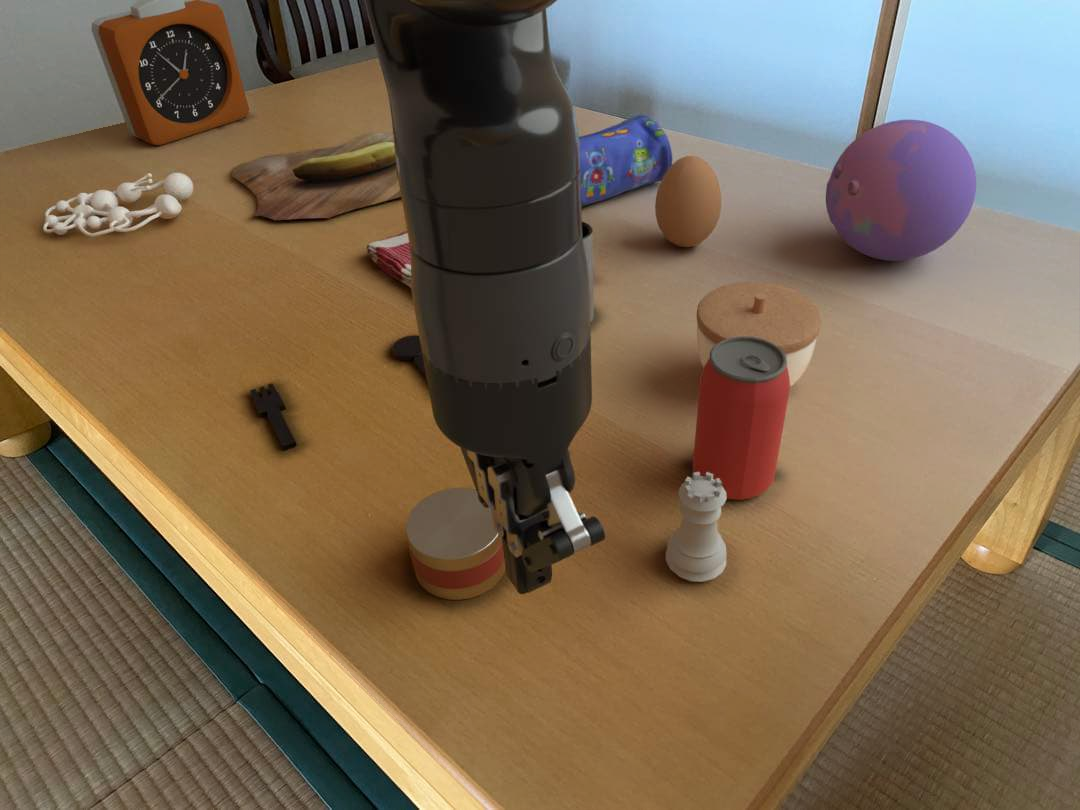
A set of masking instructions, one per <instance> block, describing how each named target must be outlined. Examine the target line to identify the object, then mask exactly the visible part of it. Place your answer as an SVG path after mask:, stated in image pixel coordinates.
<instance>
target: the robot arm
mask: <svg viewBox="0 0 1080 810" xmlns="http://www.w3.org/2000/svg"><path fill="white" fill-rule="evenodd" d="M363 2H364V5H365V10H366V14H367V18H368V22H369V25H370V29H371V32H372V37H373V42H374V46H375V49H376V54H377V57H378V62H379V65H380V68H381V72H382V75H383V79H384V83H385V86H386V87H385V88H386V90H387V91H386V92H387V96H388V101H389V108H390V116H391V117H390V118H391V124H392V125H391V126H392V133H393V136H394V148H395V161H396V169H397V176H398V181H399V187H400V192H401V197H400V198H401V204H402V209H403V210H402V211H403V215H404V221H405V226H406V231H407V233H408V239H409V246H410V254H411V288H412V289H411V288H410V289H411V296H412V303H413V304H412V305H413V309H414V314H415V321H416V325H417V332H418V336H419V338H420V343H421V349H422V355H423V360H424V366H425V371H426V377H427V378H426V377H425V378H426V381H427V387H428V393H429V399H430V404H431V411H432V416H433V419H434V422H435V424H436V426H437V427H438V430H439V431H440V432H441V433H442V434H443V435H444V436H445V437H446V438H447V440H449V441H451V443H453V444H454V445H456V446H458V447H459V448H460V451H461V454H462V456H463V459H464V461H465V464H466V467H467V470H468V471H469V475H470V477H471V480H472V482H473V486H474V489H475V490H476V491H477V493H478V499H479V501H480V503H482V505H483V506H484V507H485V508H488V507H490V508H491V512H492V518H493V523H494V524H493V526H494V529H495V531H496V532H498V534H499V535H500V536H501V537H502V544H503V552H504V560H505V568H506V570H505V575H506V577H507V578H508V579H509V581H510V583H511V584H512V585H513V587H514V588H515V590H516V591H517V593H518V594H519V595H526V594H527V593H528V594H530V593H532V592H534V591H535V590H538V589H540V588H542V587H545V586H546V585H548V584H550V583H551V582H552V580H553V568H552V567H553V566H552V565H554V564H557V563H558V562H559V563H560V562H561V561H563V560H565V559H567V558H570V557H572V556H574V555H575V554H578V553H580V552H582V551H584V550H586V549H588V548H591V547H593V546H595V545H597V544H599V543H601V542H603V541H604V540H605V539H606V533H605V529H604V526H603V524H602V523H601V521H600V520H599V518H597V517H596V516H594V515H592V516H590V517H588V518H587V515H586V513H585V512H584V511H579V512H578V510H577V508H576V505H575V503H574V501H573V499H572V497H571V495H570V494H571V493H572V492H573V490H574V488H575V485H576V473H575V469H574V467H573V464H572V463H573V462H572V459H571V452H570V449H569V447H570V446H571V443H572V442H573V440H574V439H575V437H576V435H577V434H578V432H579V431H580V429H581V428H582V426H583V425H584V423H585V422H586V421H587V418H588V417H589V414H590V412H591V408H592V404H593V403H592V401H593V383H592V340H591V339H592V333H591V329H592V328H591V327H592V325H591V323H590V285H589V273H588V266H587V260H586V254H585V249H584V243H583V233H582V222H583V221H582V218H583V217H582V216H583V215H582V207H581V176H580V162H581V161H580V145H579V137H580V133H579V126H578V122H577V117H576V113H575V109H574V106H573V102H572V99H571V97H570V95H569V92H568V91H567V89H566V87H565V85H564V83H563V81H562V79H561V78H560V75H559V73H558V71H557V69H556V65H555V62H554V60H553V56H552V52H551V47H550V46H551V45H550V36H549V26H548V16H547V9H548V8H549V7H551V6H552V5H553V4H554V3H556V2H558V0H363Z"/></svg>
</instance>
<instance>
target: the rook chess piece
mask: <svg viewBox="0 0 1080 810" xmlns="http://www.w3.org/2000/svg"><path fill="white" fill-rule="evenodd" d="M678 498H679V499H680V501H681V504H680V513H681V515H682V517H681V522H680V524H679V527H677V528H676V530H675V531H674V532H672V534H671V536H670V538H669V539H668V541H667V543H666V545H667V546H666V550H665V561H666V562H665V563H666V564H667V566H668V567H669V569H670V570H671V571H672V572H673V573H674V574H676V575H677V576H678V577H679V578H681V579H683V580H685V581H688V582H693V583H703V582H708V581H712V580H714V579H716V578H717V577H718V576H719V575H721V574H722V573H723V572H724V570H725V568H726V566H727V545H726V543H725V541H724V540H723V537H722V535H721V534H720V532H719V530H718V529H719V528H718V521H719V519H720V517H721V515H722V507H723V506H724V505H725V503H726V501H727V500H728V499H727V496H726V491H725V490H724V488H723V487H722V482H721V480H720V479H719V478H717V479H715V480H714V479H713V474H712V473H709V472H706V477H703V476H700V472H695V473H693V472H692V476H691V477H690V476H686V478H685V480H684V482H683V483H682V484H681V485H680V487H679V489H678Z"/></svg>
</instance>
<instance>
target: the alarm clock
mask: <svg viewBox="0 0 1080 810" xmlns="http://www.w3.org/2000/svg"><path fill="white" fill-rule="evenodd" d="M91 33H92V35H93V38H94V40H95V44H96V46H97V49H98V52H99V54H100V57H101V60H102V63H103V66H104V68H105V71H106V74H107V77H108V79H109V82H110V85H111V88H112V91H113V93H114V96H115V98H116V102H117V104H118V106H119V109H120V112H121V114H122V117H123V120H124V123H125V125H126V128H127V130H128V132H129V133H130V134H131V135H132V136H134V137H135V138H138V139H140V140H142V141H144V142H146V143H148V144H150V145H152V146H160V147H161V146H163V145H166V144H169V143H171V142H175V141H178V140H181V139H185V138H187V137H191V136H193V135H197V134H199V133H203V132H206V131H208V130H209V131H210V130H212V129H215V128H218V127H221V126H224V125H226V124H230V123H233V122H236V121H239V120H243V119H244V118H246V117H247V116H248V115H249V113H250V106H249V103H248V99H247V95H246V91H245V88H244V84H243V80H242V76H241V73H240V70H239V66H238V62H237V59H236V55H235V51H234V47H233V42H232V39H231V36H230V33H229V29H228V25H227V21H226V18H225V14H224V11H223V9H222V8H221V7H220V5H219V4H217V3H213V2H210V1H209V2H208V1H206V0H205V1H204V0H137V1H136V2H135V3H134V4H132V5H131V6H130V10H128V11H124V12H119V13H116V14H115V13H114V14H111V15H106V16H102V17H98V18H96V19H95V20H94V21H92V22H91Z"/></svg>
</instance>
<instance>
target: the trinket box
mask: <svg viewBox="0 0 1080 810" xmlns="http://www.w3.org/2000/svg"><path fill="white" fill-rule="evenodd" d="M696 324H697V325H696V346H697V353H698V354H697V355H698V358H699V361H700V363H701V366H702V369H703V368H704V366H705V364H706V363H707V361H708V359H709V358H710V351H711V350H712V348H713V346H715V345H716V344H717V343H719V342H720V341H723V340H725V339H728V338H732V337H739V336H748V337H756V338H761V339H764V340H767V341H769V342H771V343H773V344H775V345H776V346H778V347H779V348H780V349H782V351H783V352H784V354H785V355H786V358H787V369H788V373H789V380H790V388H791V387H793V385H794V384H795V383H797V381H799V379H800V378H801V377H802V376H803V374H804V373H805V371H806V370H807V368H808V366H809V364H810V362H811V360H812V357H813V354H814V351H815V348H816V344H817V340H818V337H819V333H820V331H821V327H822V314H821V311H820V310H819V308H818V306H817V305H816V303H815V302H814V301H812V300H811V299H810V298H809V297H808V296H806V295H804V294H802V293H801V292H799V291H797V290H795V289H793V288H790V287H787V286H784V285H779V284H776V283H769V282H763V281H742V282H734V283H729V284H725V285H722V286H720V287H717V288H715V289H713V290H711V291H709V292H708V293H706V294H705V295H704V296H703V297H702V299H700V301H699V303H698V305H697V309H696Z"/></svg>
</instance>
